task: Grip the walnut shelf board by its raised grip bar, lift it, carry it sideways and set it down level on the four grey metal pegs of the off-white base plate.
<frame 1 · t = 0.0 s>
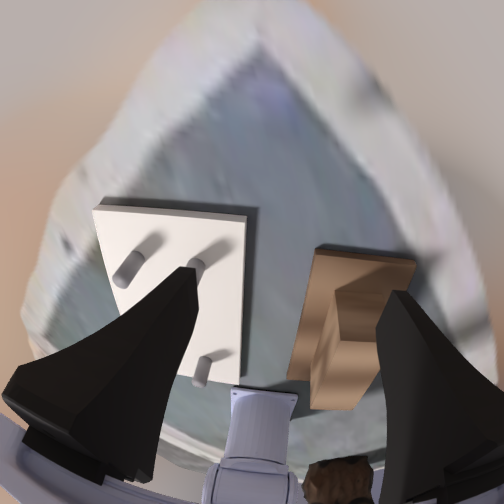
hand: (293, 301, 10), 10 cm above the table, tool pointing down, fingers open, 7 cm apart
owl: (339, 463, 49), on the table
peg base: (177, 308, 26), on the table
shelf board: (342, 324, 25), on the table
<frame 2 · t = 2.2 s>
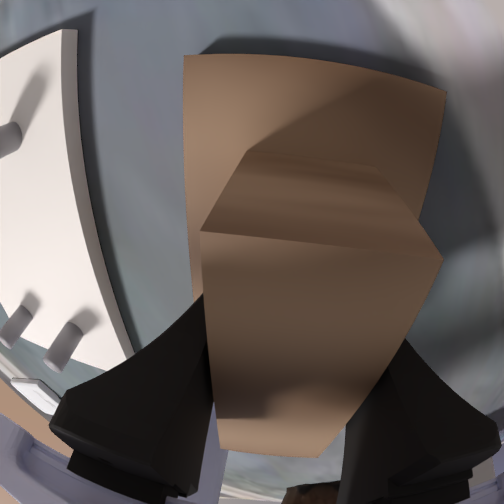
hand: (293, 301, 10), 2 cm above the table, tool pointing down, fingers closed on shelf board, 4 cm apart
cylinder vase: (440, 445, 24), on the table
owl: (325, 487, 36), on the table
peg base: (24, 235, 13), on the table
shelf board: (293, 268, 12), on the table, touching gripper
external hard drive: (46, 393, 31), on the table
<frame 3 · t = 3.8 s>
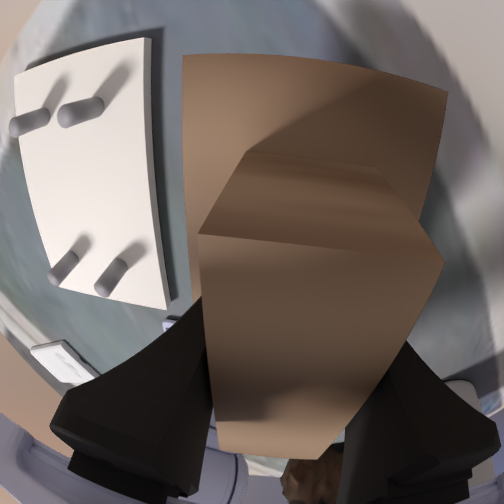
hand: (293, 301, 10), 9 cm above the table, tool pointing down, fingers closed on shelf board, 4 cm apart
cylinder vase: (432, 401, 30), on the table
owl: (327, 452, 42), on the table
peg base: (86, 187, 19), on the table
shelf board: (293, 269, 12), point 7 cm above the table, touching gripper
external hard drive: (66, 358, 36), on the table
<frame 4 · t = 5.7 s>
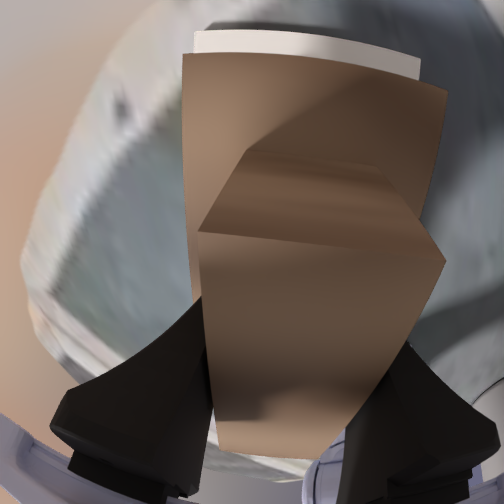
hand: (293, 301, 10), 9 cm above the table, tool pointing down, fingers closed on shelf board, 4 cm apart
cylinder vase: (501, 390, 29), on the table
peg base: (294, 201, 18), on the table
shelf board: (293, 268, 12), point 7 cm above the table, touching gripper
when the fingers open (7 cm above the table, at t = 7.2 s): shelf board stays where it is, resting on peg base.
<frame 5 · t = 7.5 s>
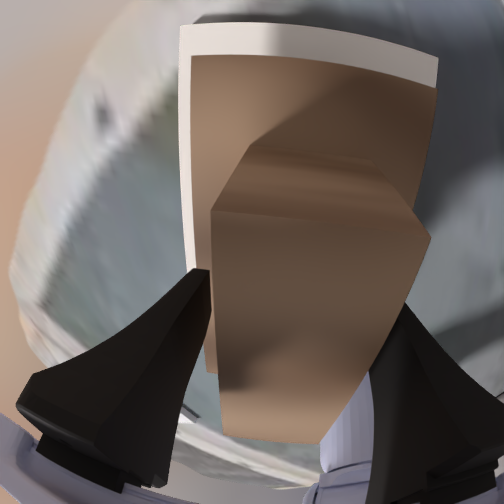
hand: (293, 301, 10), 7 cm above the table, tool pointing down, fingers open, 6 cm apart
peg base: (294, 217, 16), on the table
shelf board: (294, 258, 13), point 4 cm above the table, touching peg base
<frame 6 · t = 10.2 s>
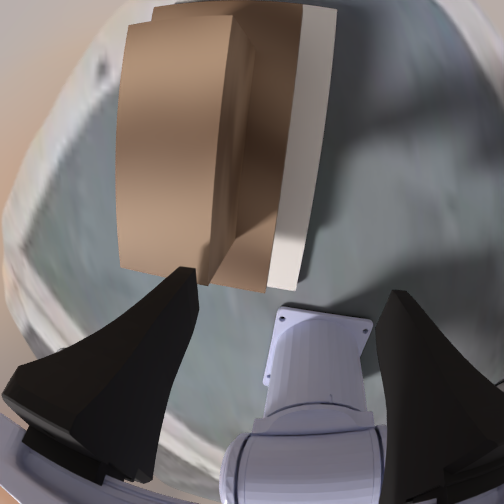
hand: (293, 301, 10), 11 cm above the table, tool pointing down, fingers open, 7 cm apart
peg base: (229, 138, 19), on the table
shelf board: (212, 140, 15), point 4 cm above the table, touching peg base
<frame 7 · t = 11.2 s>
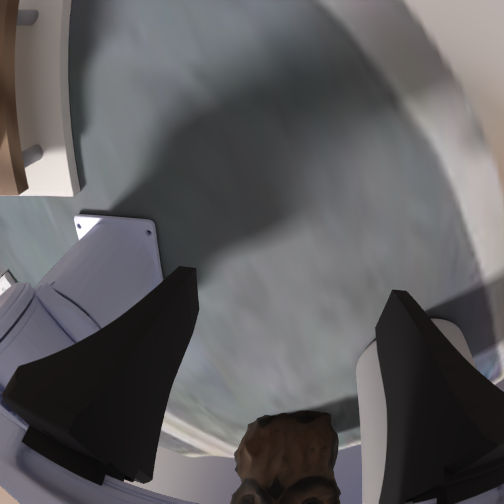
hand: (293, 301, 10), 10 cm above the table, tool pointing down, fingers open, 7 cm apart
cylinder vase: (409, 353, 27), on the table
owl: (291, 426, 39), on the table
peg base: (21, 87, 16), on the table
external hard drive: (15, 299, 33), on the table
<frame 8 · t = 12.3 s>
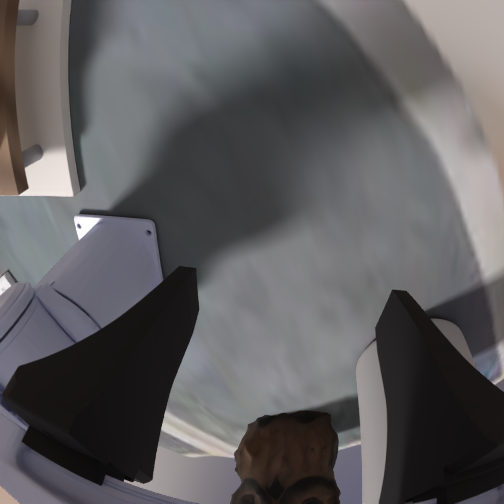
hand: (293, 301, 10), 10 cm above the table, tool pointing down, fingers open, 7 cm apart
cylinder vase: (409, 353, 27), on the table
owl: (291, 426, 39), on the table
peg base: (21, 87, 16), on the table
external hard drive: (14, 299, 33), on the table
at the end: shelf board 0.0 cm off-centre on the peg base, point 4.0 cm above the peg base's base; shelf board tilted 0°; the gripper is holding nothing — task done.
